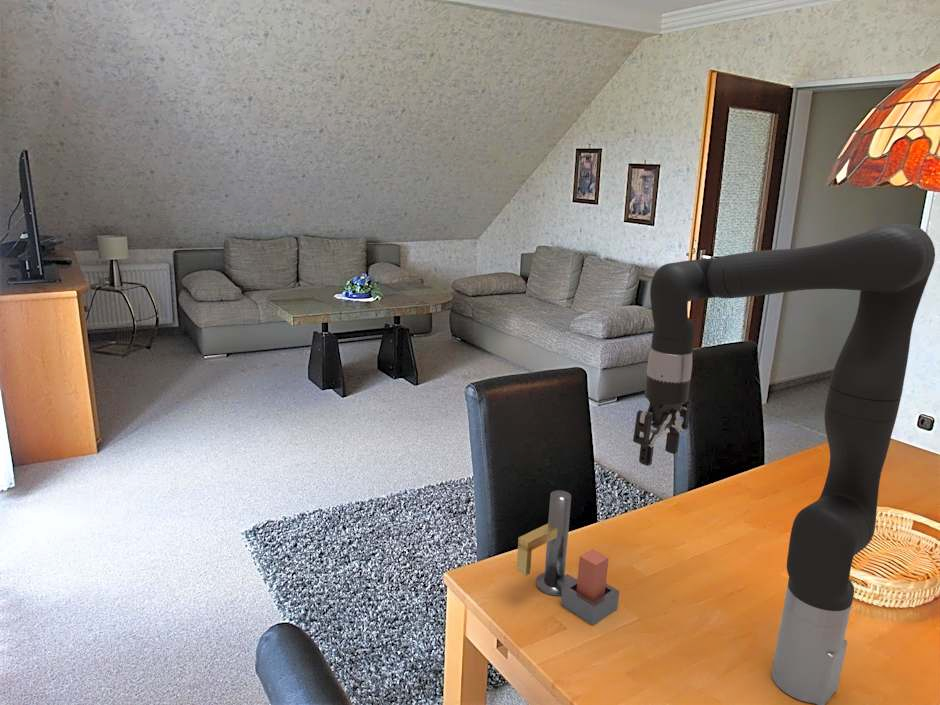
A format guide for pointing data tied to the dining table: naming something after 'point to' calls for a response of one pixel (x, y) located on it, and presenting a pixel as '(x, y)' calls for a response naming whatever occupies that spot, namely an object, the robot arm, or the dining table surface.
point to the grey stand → (562, 564)
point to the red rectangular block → (592, 575)
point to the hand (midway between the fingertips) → (658, 458)
